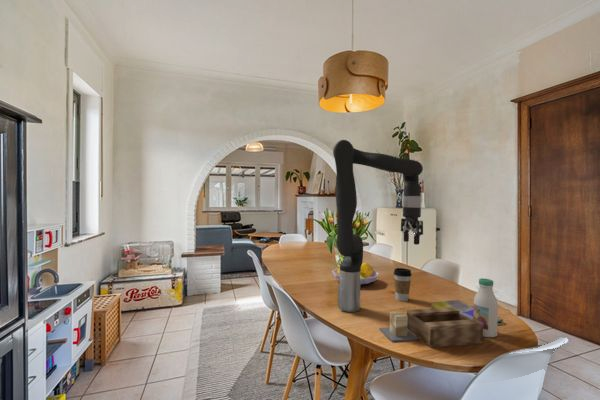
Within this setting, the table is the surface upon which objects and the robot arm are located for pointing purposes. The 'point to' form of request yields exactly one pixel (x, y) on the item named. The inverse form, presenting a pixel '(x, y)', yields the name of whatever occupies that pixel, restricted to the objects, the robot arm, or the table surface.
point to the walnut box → (444, 327)
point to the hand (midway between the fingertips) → (411, 242)
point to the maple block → (398, 323)
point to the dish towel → (460, 308)
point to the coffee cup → (402, 283)
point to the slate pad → (397, 338)
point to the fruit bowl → (366, 274)
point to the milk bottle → (486, 308)
